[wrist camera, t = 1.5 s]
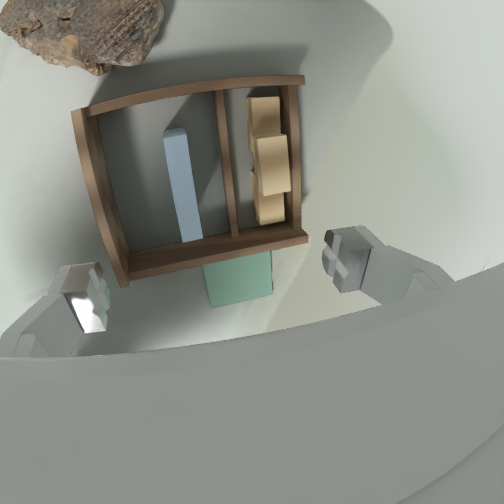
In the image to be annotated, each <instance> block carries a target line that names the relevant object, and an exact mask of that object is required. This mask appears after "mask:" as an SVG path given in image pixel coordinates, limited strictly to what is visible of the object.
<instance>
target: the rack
mask: <svg viewBox="0 0 504 504" xmlns="http://www.w3.org/2000/svg"><path fill="white" fill-rule="evenodd" d="M297 85H305V77H304V75H274V76H252V77H238V78H226V79H217V80H208V81H201V82H193V83H187V84H181V85H175V86H169V87H164V88H158V89H154V90H149V91H144V92H140V93H135V94H131V95H127V96H123V97H119V98H115V99H112V100H108V101H105V102H101V103H98V104H94V105H91V106H88V107H85V108H80V109H77V110H74V111H71V117H72V123H73V128H74V133H75V138H76V143H77V148H78V153H79V157H80V162H81V166H82V170H83V174H84V178H85V182H86V186H87V189H88V193H89V197H90V200H91V204H92V207H93V211H94V214H95V217H96V220H97V224H98V227H99V230H100V233H101V236H102V239H103V242H104V245H105V248H106V250H107V253H108V256H109V259H110V262H111V264H112V267H113V270H114V272H115V275H116V277H117V280H118V282H119V285H120V287H121V288H122V287H127V286H129V282H130V281H131V280H136V279H141V278H145V277H150V276H155V275H159V274H164V273H169V272H174V271H178V270H183V269H188V268H192V267H197V266H202V265H206V264H211V263H216V262H220V261H225V260H230V259H234V258H239V257H244V256H248V255H253V254H258V253H262V252H267V251H272V250H276V249H281V248H286V247H290V246H295V245H299V244H304V243H308V234H307V233H306V232H305V231H304V230H303V229H302V228H301V164H300V135H299V114H298V96H297ZM260 86H280V100H281V115H282V132H283V134H284V135H286V136H287V147H288V159H289V172H290V185H291V191H289V192H285V195H286V221H284V222H279V223H274V224H268V225H263V226H258V227H253V228H248V229H243V230H238V225H237V216H236V207H235V198H234V189H233V180H232V171H231V162H230V153H229V144H228V134H227V125H226V115H225V106H224V96H223V90H225V89H234V88H246V87H260ZM208 91H213V96H214V105H215V114H216V123H217V132H218V141H219V150H220V158H221V166H222V175H223V183H224V191H225V199H226V207H227V215H228V222H229V230H230V232H228V233H223V234H218V235H213V236H208V237H203V238H202V239H198V240H193V241H188V242H179V243H175V244H170V245H165V246H161V247H156V248H152V249H147V250H142V251H138V252H133V253H130V250H129V247H128V244H127V241H126V238H125V234H124V231H123V228H122V224H121V221H120V217H119V214H118V210H117V206H116V203H115V199H114V195H113V191H112V187H111V183H110V179H109V175H108V170H107V166H106V162H105V157H104V152H103V147H102V142H101V137H100V132H99V126H98V121H97V115H99V114H102V113H106V112H109V111H113V110H116V109H120V108H124V107H128V106H132V105H136V104H141V103H145V102H150V101H155V100H159V99H165V98H170V97H175V96H181V95H187V94H194V93H201V92H208Z"/></svg>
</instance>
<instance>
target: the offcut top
mask: <svg viewBox="0 0 504 504" xmlns="http://www.w3.org/2000/svg"><path fill="white" fill-rule="evenodd" d="M251 145H252V153H253V161H254V169H255V177H256V186H257V190H258V191H259V192H260V193H261V194H262V195H263V196H268V195H273V194H278V193H284V192H289V191H291V185H290V172H289V159H288V147H287V136H286V135H284V134H281V133H278V132H277V133H269V134H262V135H255V136H251Z"/></svg>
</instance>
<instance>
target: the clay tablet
mask: <svg viewBox="0 0 504 504" xmlns="http://www.w3.org/2000/svg"><path fill="white" fill-rule="evenodd" d="M163 18H164V8H163V5H162V3H161V2H160V1H159V0H8V2H7V3H6V4H5V6H4V7H3V9H2V12H1V13H0V30H1V31H3V32H4V33H5V34H7V35H8V36H13V37H12V38H13V39H14V40H15V41H16V42H18V44H19V45H20V47H22V48H26V49H29V50H30V51H31V52H32V54H35V55H37V56H38V55H40V56H41V57H42V58H43V60H45V61H46V62H47V63H50V64H54V65H63V66H65V67H66V68H67V67H68V66H71V65H74V66H79V67H81V68H83V69H84V70H88V71H89V72H90V73H91V74H93V75H95V76H100V75H102V74H105V73H107V72H108V71H110V70H112V69H113V67H114V65H120V66H134V65H137V64H140V63H141V62H142V61H143V60H145V58H146V56H147V55H148V53H149V52H150V51H151V48H152V46H153V45H152V42H153V41H154V39H155V38H156V36H157V35H158V32H159V31H160V30H159V27H160V25H161V24H162V22H163Z"/></svg>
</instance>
